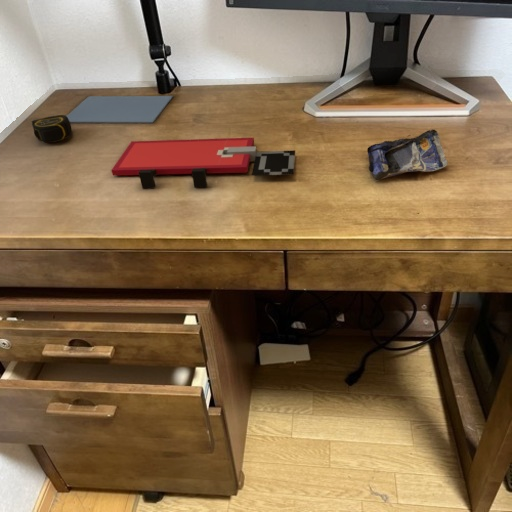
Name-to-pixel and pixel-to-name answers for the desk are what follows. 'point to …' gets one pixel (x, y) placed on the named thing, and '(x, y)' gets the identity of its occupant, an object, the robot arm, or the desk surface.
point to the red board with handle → (200, 159)
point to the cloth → (119, 109)
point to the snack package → (406, 155)
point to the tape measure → (52, 128)
